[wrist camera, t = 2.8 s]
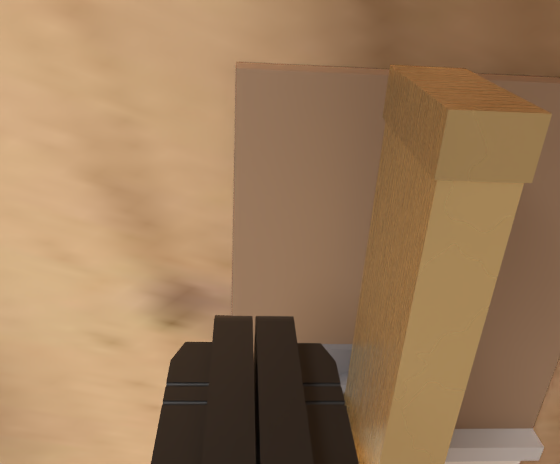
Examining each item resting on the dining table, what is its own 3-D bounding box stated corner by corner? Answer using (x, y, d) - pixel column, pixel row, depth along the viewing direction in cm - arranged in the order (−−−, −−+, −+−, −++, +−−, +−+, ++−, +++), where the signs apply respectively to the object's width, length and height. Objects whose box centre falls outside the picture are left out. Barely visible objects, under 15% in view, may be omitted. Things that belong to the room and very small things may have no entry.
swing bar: (402, 457, 21) (440, 581, 17) (311, 458, 21) (327, 584, 17) (491, 68, 14) (592, 115, 10) (358, 62, 14) (406, 107, 10)
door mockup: (236, 61, 16) (234, 89, 13) (639, 81, 17) (734, 111, 14) (227, 554, 28) (224, 638, 24) (472, 549, 29) (503, 628, 25)
